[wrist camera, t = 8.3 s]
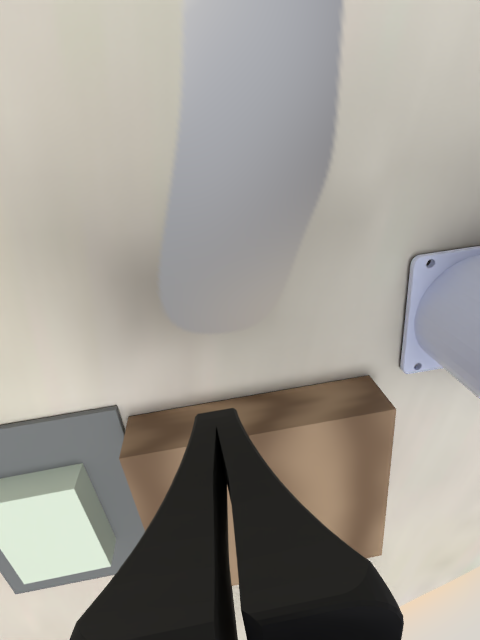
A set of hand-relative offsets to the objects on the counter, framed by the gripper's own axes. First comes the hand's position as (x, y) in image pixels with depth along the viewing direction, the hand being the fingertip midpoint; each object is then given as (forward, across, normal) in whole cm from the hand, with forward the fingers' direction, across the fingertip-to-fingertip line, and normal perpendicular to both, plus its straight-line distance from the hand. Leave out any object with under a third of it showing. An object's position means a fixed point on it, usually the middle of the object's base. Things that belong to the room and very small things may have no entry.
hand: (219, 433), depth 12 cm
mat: (+9, +12, +13) cm, 20 cm away
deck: (+9, -2, +13) cm, 16 cm away
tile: (+7, +13, +13) cm, 19 cm away
